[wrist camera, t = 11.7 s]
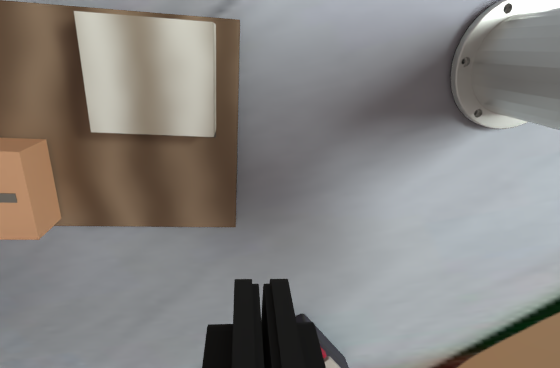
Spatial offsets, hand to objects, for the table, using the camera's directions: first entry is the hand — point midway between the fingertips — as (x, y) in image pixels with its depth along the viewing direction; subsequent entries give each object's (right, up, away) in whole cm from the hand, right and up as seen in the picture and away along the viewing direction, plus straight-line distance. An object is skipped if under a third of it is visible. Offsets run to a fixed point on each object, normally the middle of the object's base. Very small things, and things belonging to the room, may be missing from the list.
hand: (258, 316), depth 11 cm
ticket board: (-17, +10, +21) cm, 29 cm away
